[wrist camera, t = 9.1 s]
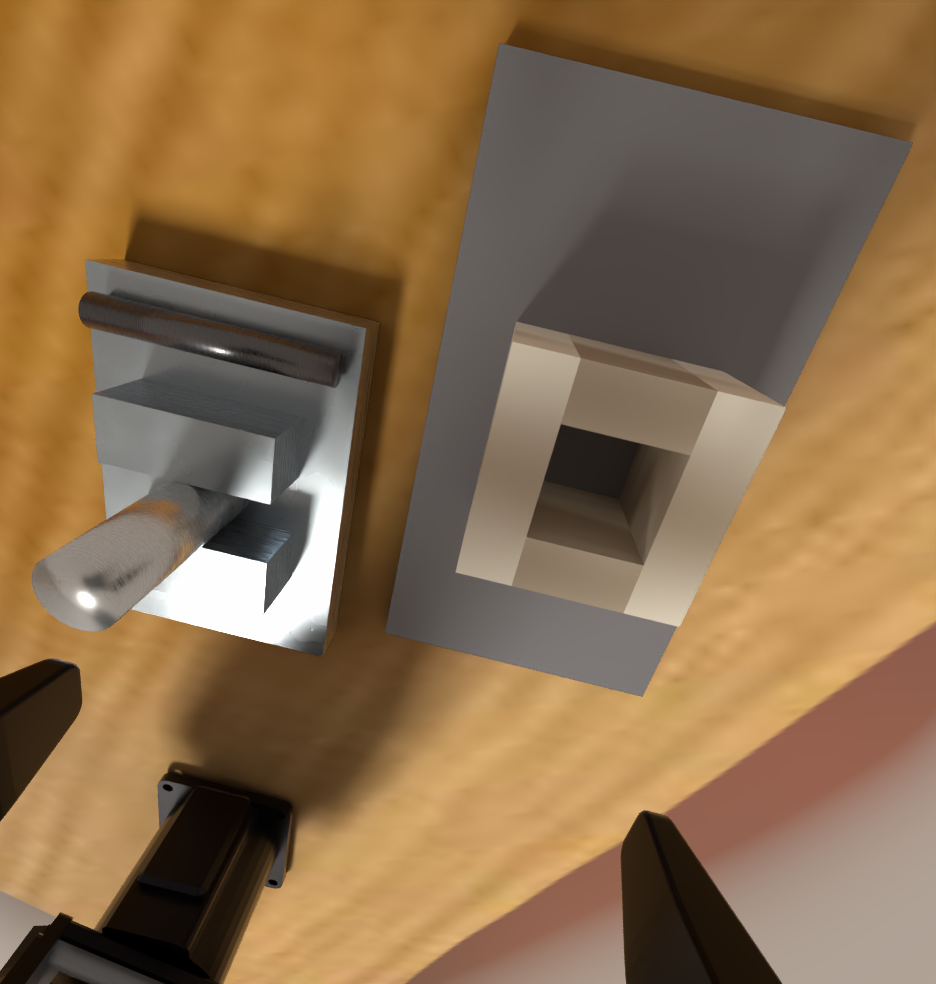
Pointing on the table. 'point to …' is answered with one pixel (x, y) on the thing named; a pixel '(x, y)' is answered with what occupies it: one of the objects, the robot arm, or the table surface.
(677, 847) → the robot arm
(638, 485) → the collar
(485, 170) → the charcoal mat
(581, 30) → the table surface
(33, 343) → the table surface
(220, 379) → the vise
